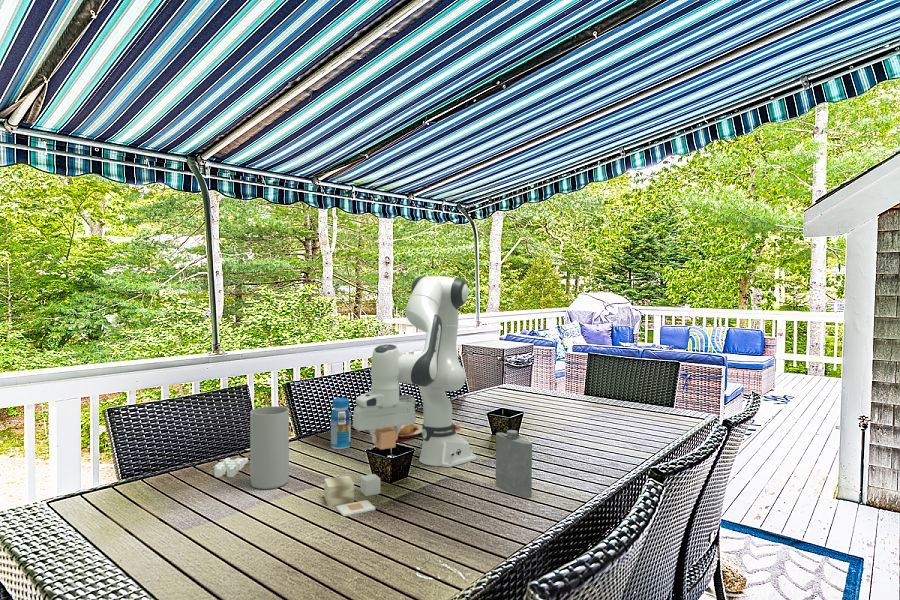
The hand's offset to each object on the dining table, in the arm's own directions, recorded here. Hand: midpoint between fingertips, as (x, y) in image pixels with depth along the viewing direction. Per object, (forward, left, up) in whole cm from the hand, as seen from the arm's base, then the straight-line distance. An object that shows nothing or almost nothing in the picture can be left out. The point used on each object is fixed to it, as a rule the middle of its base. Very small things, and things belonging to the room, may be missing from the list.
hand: (384, 441), depth 174 cm
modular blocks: (+37, -55, -20) cm, 69 cm away
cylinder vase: (+28, -33, -19) cm, 48 cm away
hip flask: (-41, +12, -19) cm, 47 cm away
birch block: (+12, -8, -19) cm, 24 cm away
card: (+10, +1, -19) cm, 22 cm away
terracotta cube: (0, 0, -2) cm, 2 cm away
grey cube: (+1, -9, -19) cm, 22 cm away
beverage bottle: (-7, -62, -19) cm, 66 cm away
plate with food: (-38, -71, -20) cm, 83 cm away
